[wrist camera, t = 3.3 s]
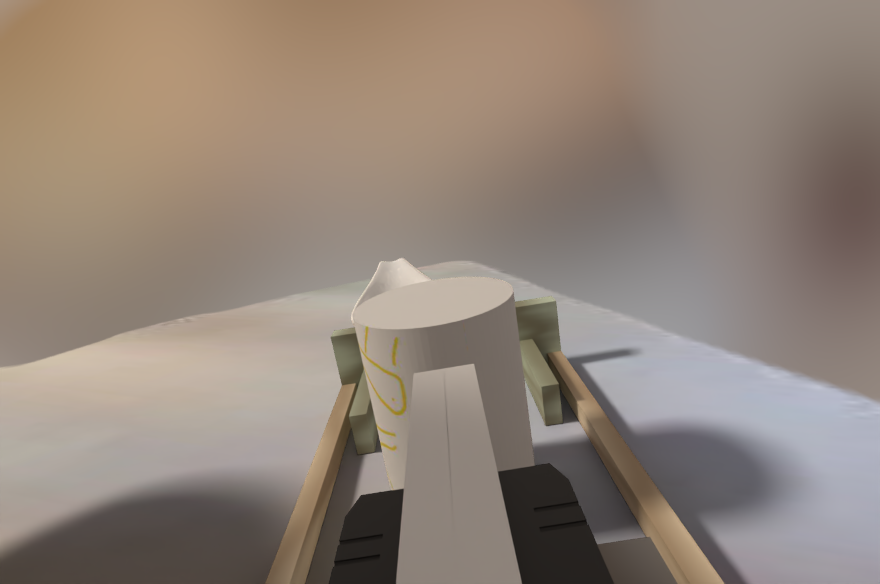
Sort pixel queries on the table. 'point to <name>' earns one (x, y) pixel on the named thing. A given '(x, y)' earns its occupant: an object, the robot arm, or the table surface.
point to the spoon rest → (391, 279)
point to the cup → (445, 360)
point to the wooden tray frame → (545, 370)
